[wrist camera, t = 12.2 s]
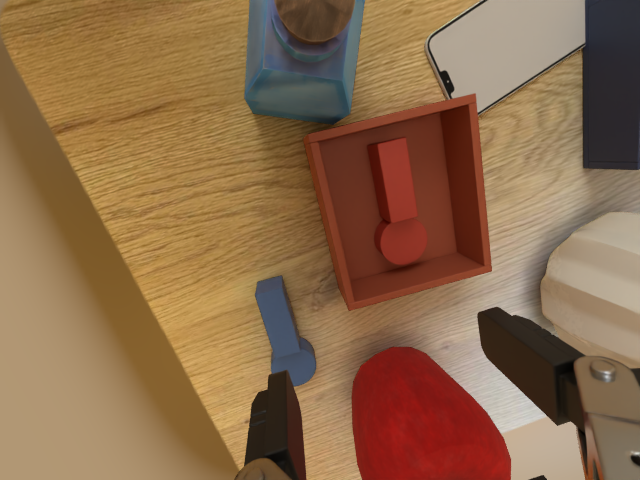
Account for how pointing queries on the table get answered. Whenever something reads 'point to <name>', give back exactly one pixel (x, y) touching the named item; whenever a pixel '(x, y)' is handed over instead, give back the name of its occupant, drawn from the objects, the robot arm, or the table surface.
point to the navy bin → (611, 85)
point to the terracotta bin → (430, 193)
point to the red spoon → (396, 203)
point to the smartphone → (503, 46)
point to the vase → (597, 288)
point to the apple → (421, 423)
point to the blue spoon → (284, 332)
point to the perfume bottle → (302, 58)
